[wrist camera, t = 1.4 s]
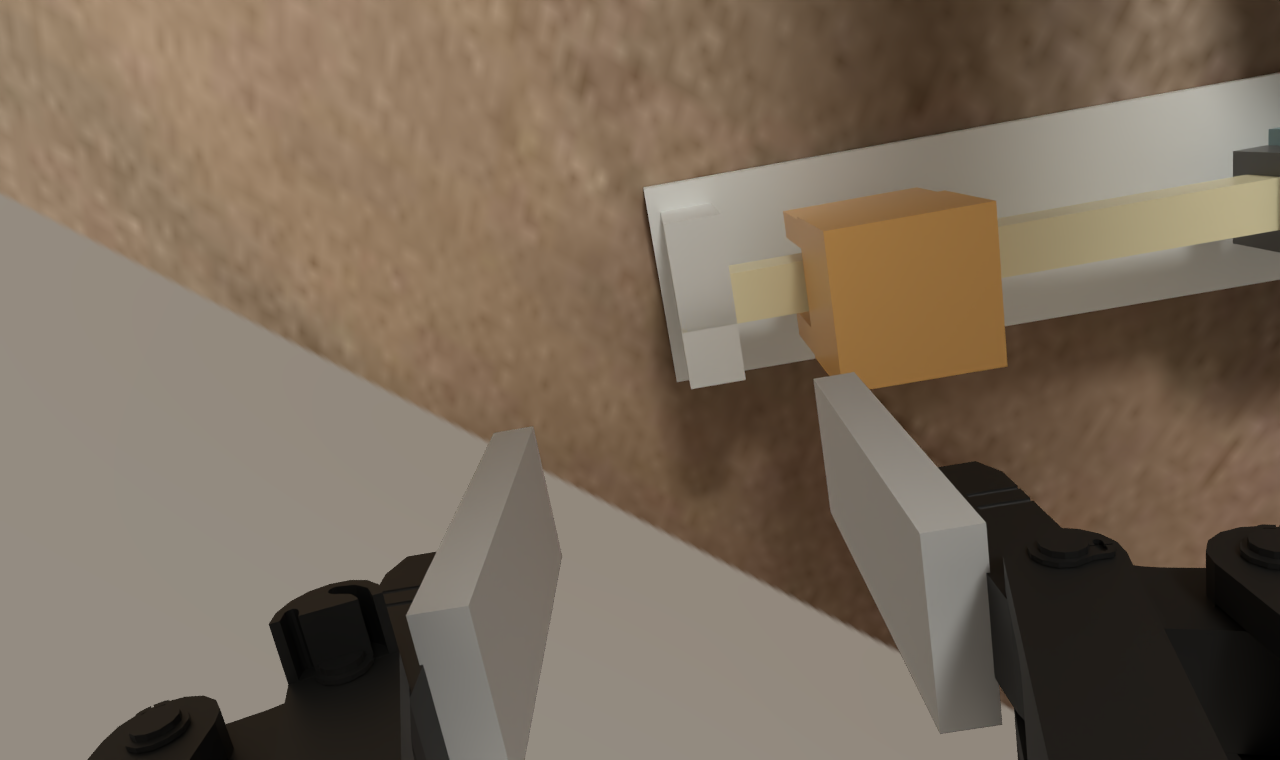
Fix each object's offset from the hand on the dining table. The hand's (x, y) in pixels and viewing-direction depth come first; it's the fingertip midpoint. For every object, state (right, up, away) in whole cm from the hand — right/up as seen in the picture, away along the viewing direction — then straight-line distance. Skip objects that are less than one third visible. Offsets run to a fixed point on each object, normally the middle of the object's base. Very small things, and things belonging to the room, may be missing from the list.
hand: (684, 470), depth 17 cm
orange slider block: (+7, +6, +17) cm, 20 cm away
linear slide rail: (+14, +8, +19) cm, 25 cm away
